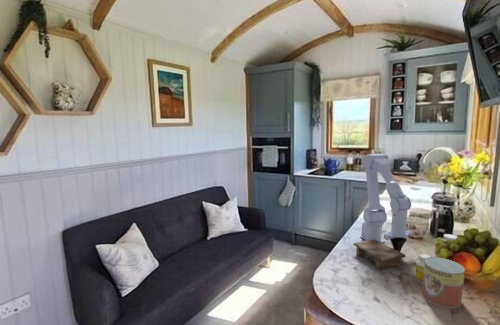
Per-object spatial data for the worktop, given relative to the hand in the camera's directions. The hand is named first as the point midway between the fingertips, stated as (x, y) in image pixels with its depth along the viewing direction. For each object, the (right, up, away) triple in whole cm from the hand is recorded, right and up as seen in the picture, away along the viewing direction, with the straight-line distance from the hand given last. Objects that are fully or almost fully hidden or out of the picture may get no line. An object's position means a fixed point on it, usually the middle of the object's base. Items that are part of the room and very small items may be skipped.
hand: (396, 252), depth 127 cm
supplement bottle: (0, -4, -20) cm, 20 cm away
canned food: (-1, -6, -31) cm, 31 cm away
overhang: (-10, -2, -3) cm, 11 cm away
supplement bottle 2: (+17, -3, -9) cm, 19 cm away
